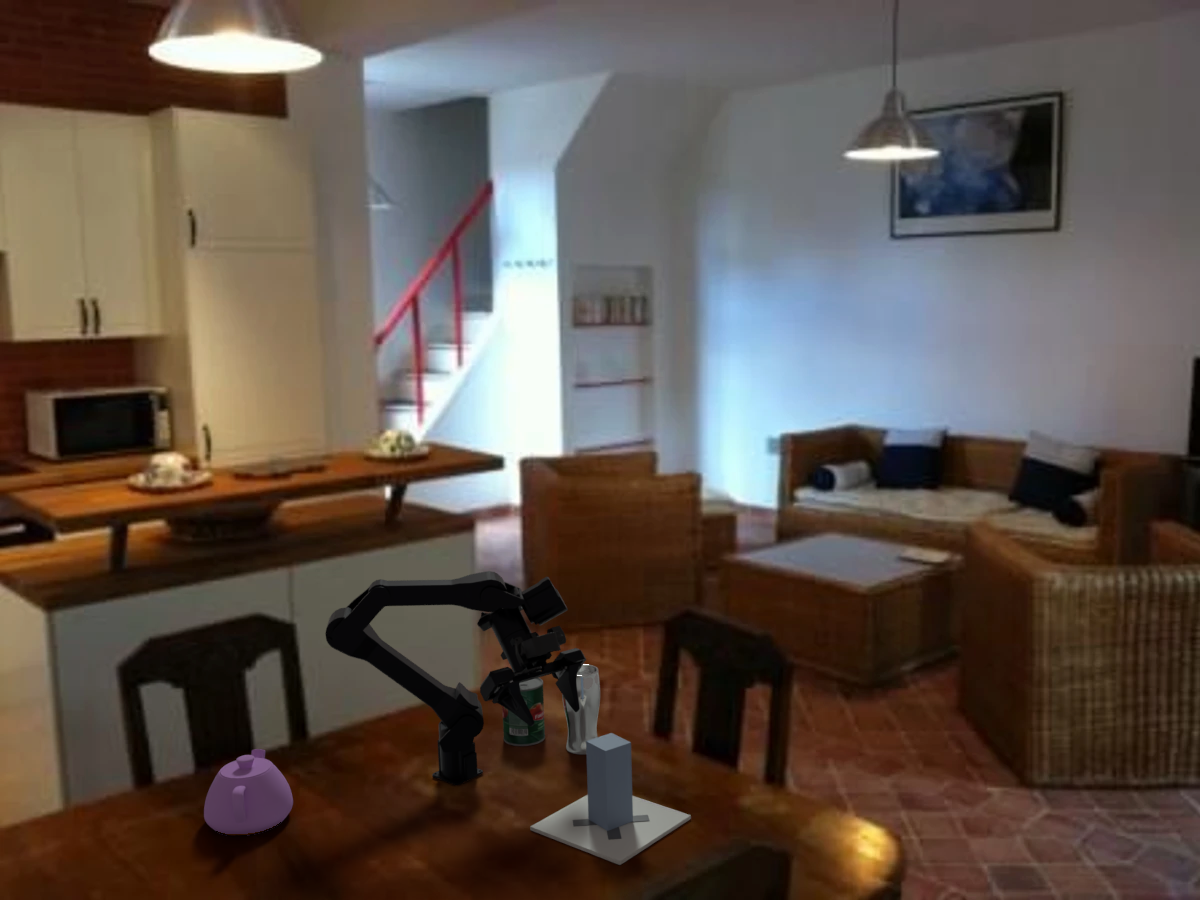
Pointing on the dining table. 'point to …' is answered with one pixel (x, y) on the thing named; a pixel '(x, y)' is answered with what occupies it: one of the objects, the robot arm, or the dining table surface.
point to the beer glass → (583, 710)
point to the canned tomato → (517, 728)
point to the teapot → (248, 796)
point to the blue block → (609, 781)
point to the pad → (614, 843)
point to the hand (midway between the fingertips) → (555, 717)
